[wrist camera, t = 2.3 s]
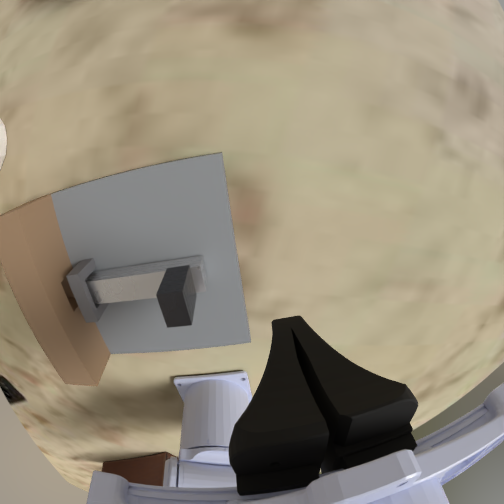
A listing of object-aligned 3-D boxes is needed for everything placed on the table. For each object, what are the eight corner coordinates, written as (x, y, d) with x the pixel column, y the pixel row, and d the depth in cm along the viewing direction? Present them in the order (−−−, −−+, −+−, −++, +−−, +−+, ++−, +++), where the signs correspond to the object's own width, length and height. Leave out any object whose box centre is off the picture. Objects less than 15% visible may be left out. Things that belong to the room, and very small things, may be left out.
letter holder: (103, 460, 38) (92, 514, 25) (166, 450, 35) (160, 523, 22) (139, 479, 41) (133, 529, 28) (206, 469, 38) (207, 533, 25)
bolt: (201, 252, 20) (194, 290, 15) (207, 281, 21) (203, 324, 16) (86, 270, 20) (56, 305, 15) (95, 295, 21) (70, 333, 16)
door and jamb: (222, 152, 19) (219, 156, 14) (249, 331, 25) (255, 379, 20) (29, 201, 19) (-12, 221, 13) (85, 344, 25) (65, 383, 19)
